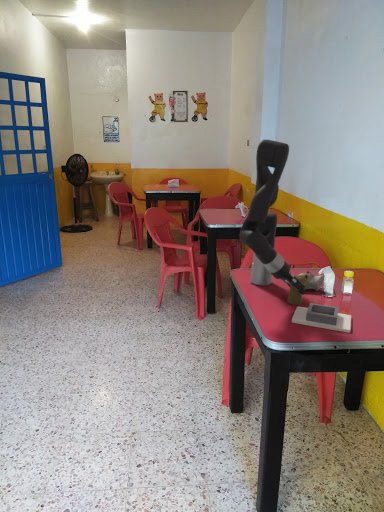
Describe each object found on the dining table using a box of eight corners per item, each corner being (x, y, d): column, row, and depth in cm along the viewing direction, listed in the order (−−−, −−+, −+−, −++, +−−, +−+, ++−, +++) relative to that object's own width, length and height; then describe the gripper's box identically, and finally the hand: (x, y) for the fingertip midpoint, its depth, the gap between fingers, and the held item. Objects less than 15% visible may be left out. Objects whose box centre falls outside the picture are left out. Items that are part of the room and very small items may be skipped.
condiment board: (291, 322, 144) (292, 312, 143) (297, 308, 157) (298, 299, 156) (349, 332, 137) (351, 322, 136) (350, 317, 150) (352, 307, 149)
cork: (302, 305, 161) (305, 279, 158) (287, 303, 162) (289, 278, 159) (301, 299, 166) (304, 275, 163) (286, 298, 167) (289, 273, 164)
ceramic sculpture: (325, 275, 171) (289, 274, 174) (324, 294, 173) (289, 292, 176) (322, 268, 181) (289, 267, 184) (322, 286, 183) (288, 285, 186)
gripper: (292, 263, 150) (314, 288, 156) (273, 253, 163) (295, 277, 169) (278, 277, 150) (301, 302, 156) (261, 266, 163) (283, 290, 169)
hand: (298, 289), depth 163 cm, fingers open, 8 cm apart
